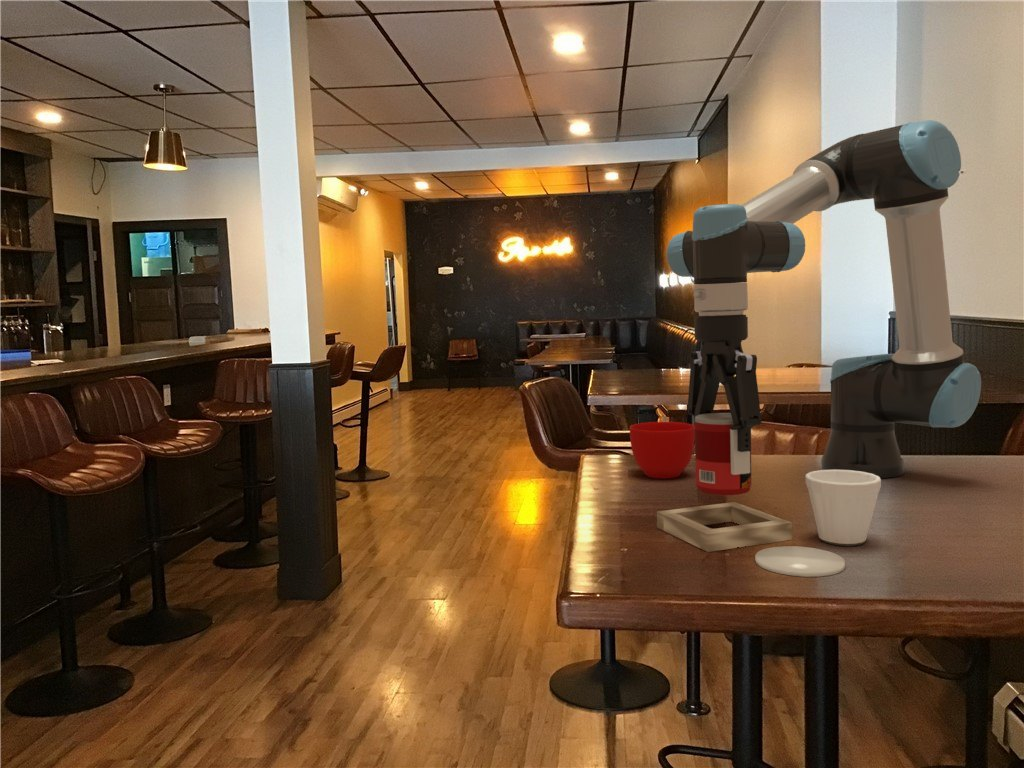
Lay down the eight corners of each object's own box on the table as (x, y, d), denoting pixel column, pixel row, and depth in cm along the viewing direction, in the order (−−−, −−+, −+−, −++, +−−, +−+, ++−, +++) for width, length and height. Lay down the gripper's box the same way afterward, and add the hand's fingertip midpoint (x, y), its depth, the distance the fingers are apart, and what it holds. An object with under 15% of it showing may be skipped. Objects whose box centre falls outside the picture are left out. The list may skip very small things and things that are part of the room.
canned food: (753, 496, 115) (752, 419, 114) (696, 495, 117) (694, 420, 116) (749, 483, 123) (748, 412, 122) (695, 483, 124) (693, 413, 123)
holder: (734, 517, 129) (734, 501, 129) (792, 539, 116) (792, 522, 116) (656, 527, 124) (656, 511, 124) (707, 552, 111) (707, 534, 111)
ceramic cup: (711, 468, 168) (710, 421, 167) (681, 484, 154) (681, 432, 153) (652, 463, 175) (652, 418, 174) (619, 478, 161) (618, 429, 160)
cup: (874, 554, 108) (875, 486, 107) (797, 545, 113) (797, 480, 112) (885, 535, 116) (886, 472, 116) (812, 527, 122) (813, 467, 121)
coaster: (805, 546, 112) (805, 542, 112) (864, 569, 102) (864, 564, 102) (738, 556, 109) (738, 552, 109) (792, 581, 98) (792, 576, 98)
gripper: (661, 315, 126) (665, 459, 128) (741, 314, 106) (743, 484, 108) (703, 312, 128) (706, 454, 130) (788, 312, 109) (790, 478, 111)
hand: (723, 467), depth 119 cm, fingers closed on canned food, 8 cm apart
